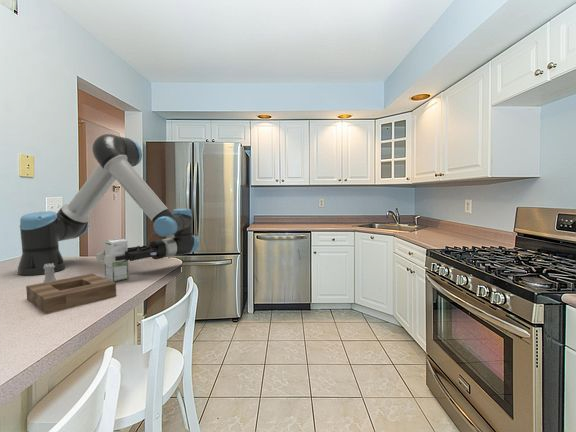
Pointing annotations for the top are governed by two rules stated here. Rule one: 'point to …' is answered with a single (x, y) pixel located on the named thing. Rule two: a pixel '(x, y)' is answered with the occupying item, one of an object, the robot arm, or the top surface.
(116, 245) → the syrup box
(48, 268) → the rook chess piece
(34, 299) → the socket block
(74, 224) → the robot arm
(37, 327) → the top surface
